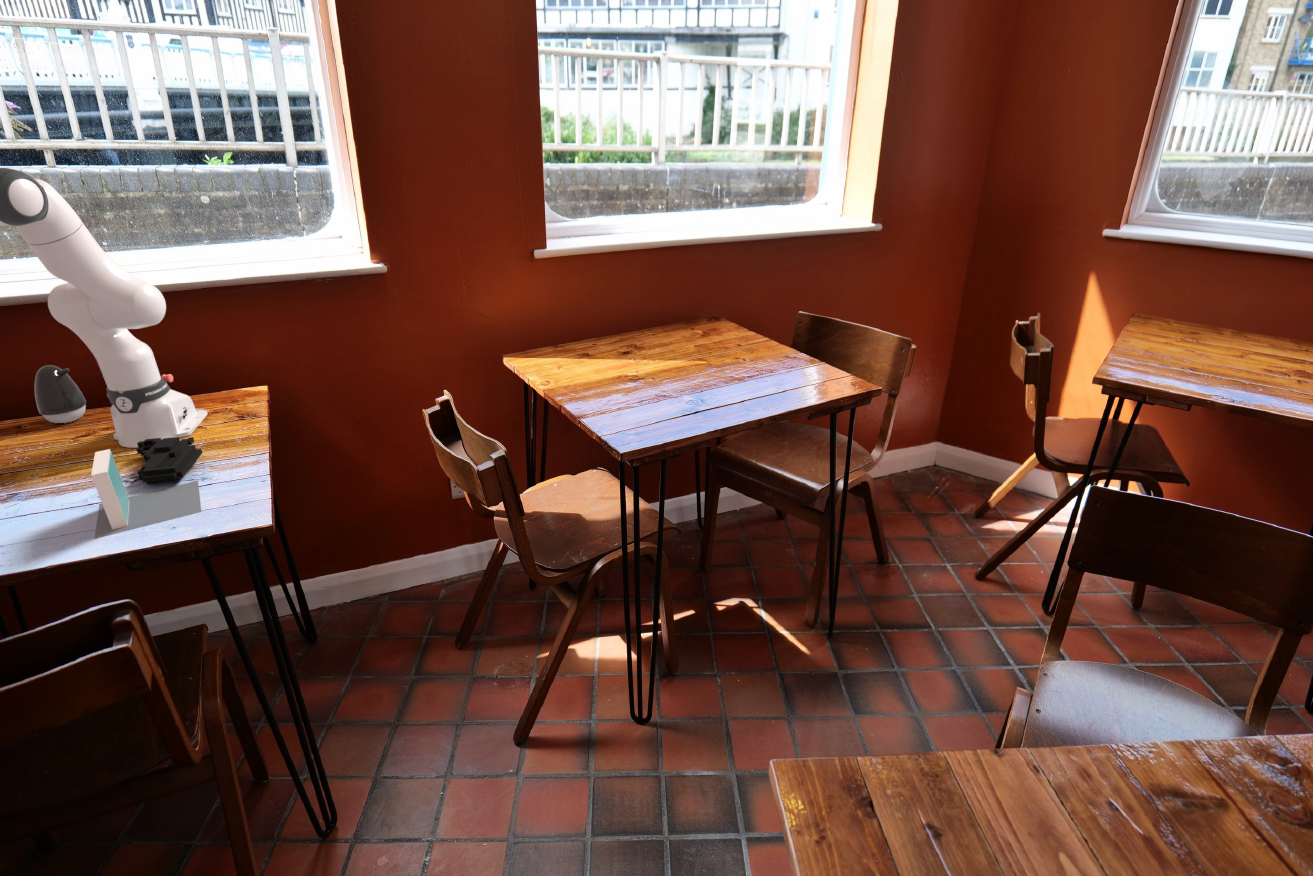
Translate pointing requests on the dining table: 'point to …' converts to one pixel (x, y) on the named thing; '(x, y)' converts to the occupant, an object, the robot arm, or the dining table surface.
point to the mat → (154, 508)
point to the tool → (166, 459)
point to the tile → (110, 489)
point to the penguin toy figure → (58, 395)
